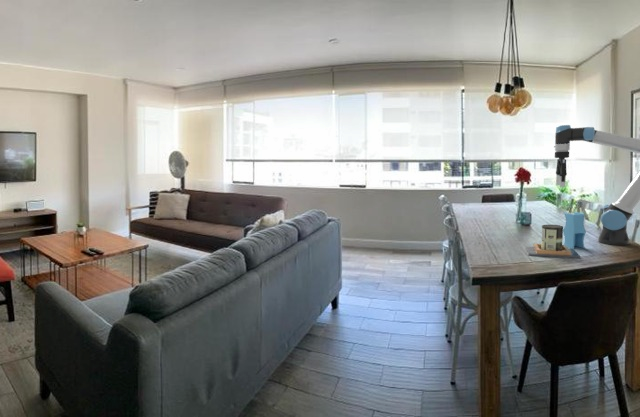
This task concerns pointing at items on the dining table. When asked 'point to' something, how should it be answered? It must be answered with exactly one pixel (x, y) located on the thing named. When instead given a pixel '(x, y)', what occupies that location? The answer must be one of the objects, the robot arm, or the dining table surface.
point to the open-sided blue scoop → (574, 230)
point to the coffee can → (552, 237)
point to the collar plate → (552, 252)
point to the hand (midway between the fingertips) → (560, 186)
